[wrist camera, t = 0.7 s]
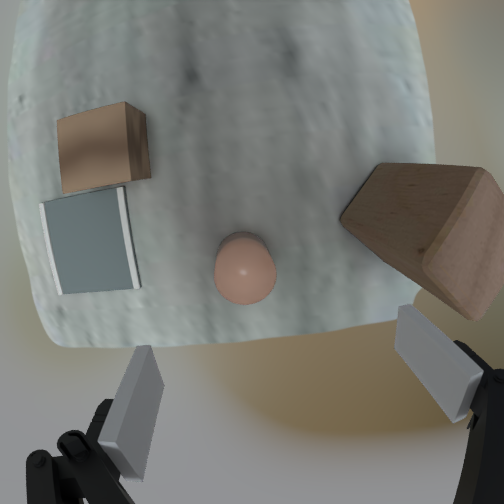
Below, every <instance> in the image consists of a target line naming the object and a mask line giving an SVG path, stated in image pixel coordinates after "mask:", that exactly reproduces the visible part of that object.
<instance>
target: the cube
mask: <svg viewBox="0 0 504 504" xmlns="http://www.w3.org/2000/svg"><path fill="white" fill-rule="evenodd" d="M57 134H58V150H59V163H60V173H61V182H62V190H63V194H66V193H71V192H76V191H81V190H86V189H91V188H96V187H102V186H107V185H112V184H118V183H123V182H129V181H135V180H141V179H148V178H151V173H150V163H149V153H148V142H147V129H146V115H145V114H144V113H143V112H141V111H140V110H138V109H136V108H135V107H133V106H131V105H130V104H128V103H127V102H120V103H116V104H112V105H108V106H104V107H100V108H96V109H92V110H89V111H85V112H82V113H78V114H75V115H72V116H68V117H65V118H62V119H59V120H57Z"/></svg>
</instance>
